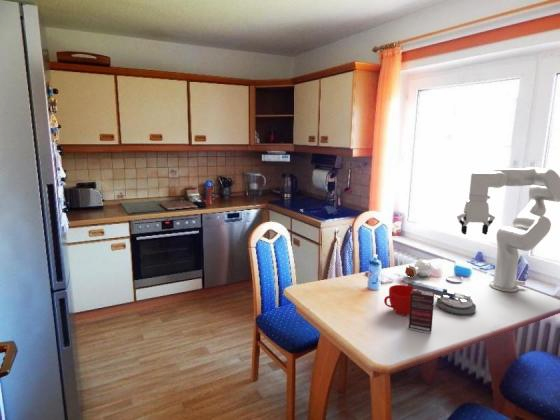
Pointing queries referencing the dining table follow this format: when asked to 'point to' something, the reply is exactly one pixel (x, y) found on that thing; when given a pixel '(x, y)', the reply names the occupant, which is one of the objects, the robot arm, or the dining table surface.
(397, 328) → the dining table surface
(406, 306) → the ceramic cup
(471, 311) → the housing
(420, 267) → the potion bottle
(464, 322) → the dining table surface
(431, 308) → the supplement box
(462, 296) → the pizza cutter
